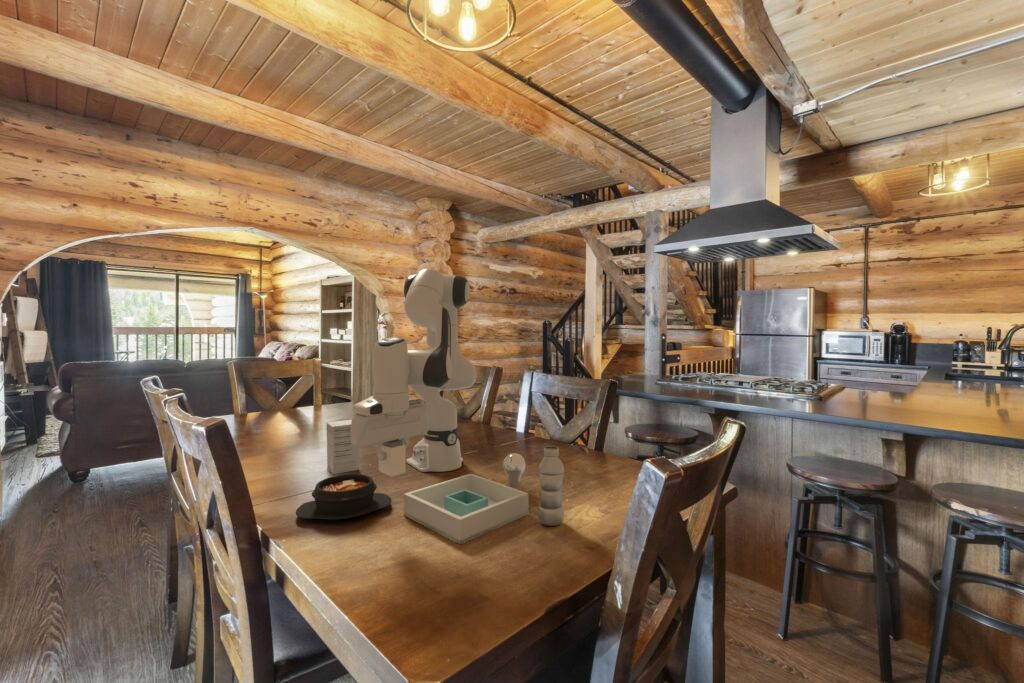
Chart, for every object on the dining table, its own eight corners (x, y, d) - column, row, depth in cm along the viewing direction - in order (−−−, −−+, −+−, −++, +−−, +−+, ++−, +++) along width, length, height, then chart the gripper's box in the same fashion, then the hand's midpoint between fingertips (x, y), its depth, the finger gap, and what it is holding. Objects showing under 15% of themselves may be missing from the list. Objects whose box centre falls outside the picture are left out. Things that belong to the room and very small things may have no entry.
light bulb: (523, 496, 139) (523, 457, 139) (500, 494, 141) (500, 456, 140) (527, 488, 146) (527, 451, 146) (505, 486, 148) (505, 449, 147)
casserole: (292, 533, 115) (291, 500, 115) (298, 505, 132) (298, 477, 132) (394, 518, 124) (394, 487, 123) (388, 494, 141) (388, 467, 141)
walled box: (404, 515, 125) (403, 493, 125) (471, 492, 143) (471, 473, 142) (459, 544, 109) (459, 519, 108) (528, 514, 126) (528, 493, 126)
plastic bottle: (536, 518, 123) (536, 445, 122) (561, 518, 124) (561, 444, 123) (539, 529, 117) (540, 451, 116) (566, 528, 117) (566, 450, 117)
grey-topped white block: (378, 471, 116) (378, 439, 116) (392, 467, 119) (392, 436, 119) (391, 476, 112) (390, 444, 112) (405, 472, 115) (405, 441, 114)
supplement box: (359, 470, 165) (359, 423, 164) (333, 474, 160) (332, 426, 159) (352, 463, 173) (351, 419, 172) (326, 467, 167) (325, 421, 167)
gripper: (419, 396, 124) (419, 447, 125) (346, 406, 110) (347, 463, 110) (433, 399, 120) (433, 451, 120) (359, 410, 105) (360, 469, 106)
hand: (391, 457), depth 115 cm, fingers closed on grey-topped white block, 4 cm apart
